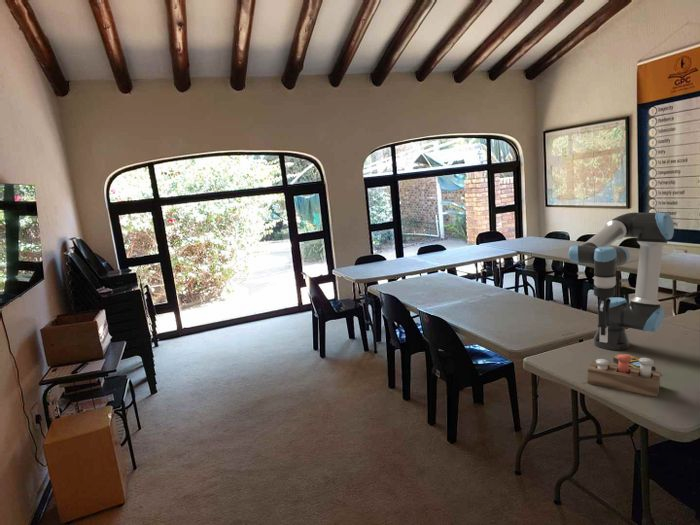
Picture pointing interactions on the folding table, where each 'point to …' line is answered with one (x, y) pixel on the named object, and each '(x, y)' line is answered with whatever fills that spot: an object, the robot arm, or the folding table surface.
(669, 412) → the folding table surface
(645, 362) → the grey plug
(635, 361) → the electronic device
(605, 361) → the grey plug
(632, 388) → the socket block
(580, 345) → the folding table surface
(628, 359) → the red plug
